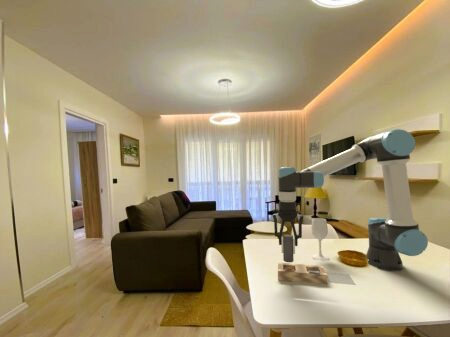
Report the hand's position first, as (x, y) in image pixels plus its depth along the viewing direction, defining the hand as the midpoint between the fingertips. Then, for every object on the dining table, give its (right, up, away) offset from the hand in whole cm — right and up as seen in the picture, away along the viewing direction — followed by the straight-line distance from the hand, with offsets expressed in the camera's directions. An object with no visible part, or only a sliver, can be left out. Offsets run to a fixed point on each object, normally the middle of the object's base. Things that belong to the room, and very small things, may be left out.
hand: (288, 252), depth 99 cm
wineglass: (+23, -11, +20) cm, 33 cm away
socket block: (+5, -11, -2) cm, 12 cm away
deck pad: (+21, -10, -4) cm, 24 cm away
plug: (0, -4, 0) cm, 4 cm away
